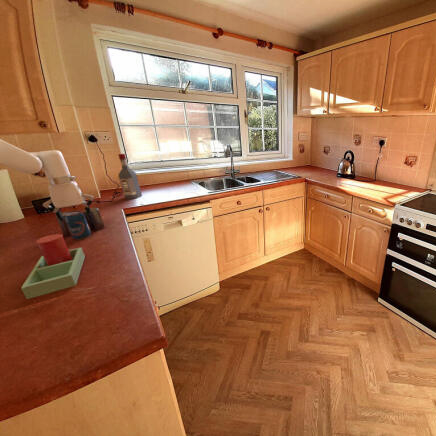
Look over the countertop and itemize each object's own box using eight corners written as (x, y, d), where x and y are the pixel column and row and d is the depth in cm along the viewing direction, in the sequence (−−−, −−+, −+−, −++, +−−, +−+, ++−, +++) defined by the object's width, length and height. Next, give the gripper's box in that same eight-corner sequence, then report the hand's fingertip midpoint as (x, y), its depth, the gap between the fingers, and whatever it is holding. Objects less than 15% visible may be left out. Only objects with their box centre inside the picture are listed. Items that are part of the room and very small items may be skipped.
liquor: (131, 195, 178) (119, 153, 167) (143, 195, 178) (132, 153, 167) (123, 199, 170) (109, 155, 159) (135, 198, 169) (123, 154, 158)
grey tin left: (62, 237, 114) (54, 217, 110) (65, 232, 119) (57, 213, 115) (78, 233, 117) (71, 214, 113) (80, 229, 122) (73, 211, 118)
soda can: (71, 241, 109) (61, 217, 105) (74, 236, 115) (64, 212, 110) (91, 237, 113) (81, 213, 108) (92, 232, 118) (83, 209, 113)
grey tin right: (89, 231, 119) (82, 212, 115) (90, 227, 124) (83, 209, 120) (104, 228, 122) (97, 210, 118) (105, 224, 127) (98, 206, 123)
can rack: (27, 300, 73) (20, 288, 71) (46, 266, 90) (41, 256, 88) (76, 286, 78) (71, 274, 77) (85, 257, 96) (81, 247, 94)
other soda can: (48, 275, 84) (33, 244, 79) (53, 266, 89) (39, 237, 85) (73, 269, 87) (60, 239, 83) (76, 260, 92) (64, 232, 88)
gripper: (87, 175, 111) (100, 210, 117) (35, 182, 102) (52, 219, 109) (84, 178, 105) (98, 215, 111) (30, 185, 96) (48, 225, 103)
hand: (76, 217), depth 110 cm, fingers open, 9 cm apart
